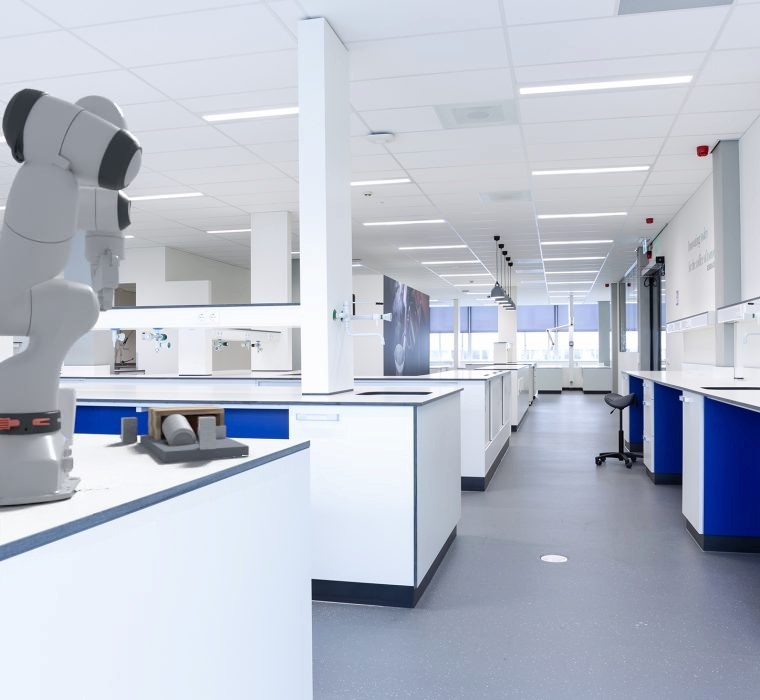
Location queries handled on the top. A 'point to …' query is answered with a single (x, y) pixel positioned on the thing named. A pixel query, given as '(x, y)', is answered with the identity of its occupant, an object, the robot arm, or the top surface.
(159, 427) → the cubby
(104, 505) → the top surface
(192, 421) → the cube
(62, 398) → the drinking glass
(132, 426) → the mallet
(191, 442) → the beverage can
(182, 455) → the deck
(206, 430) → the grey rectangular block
